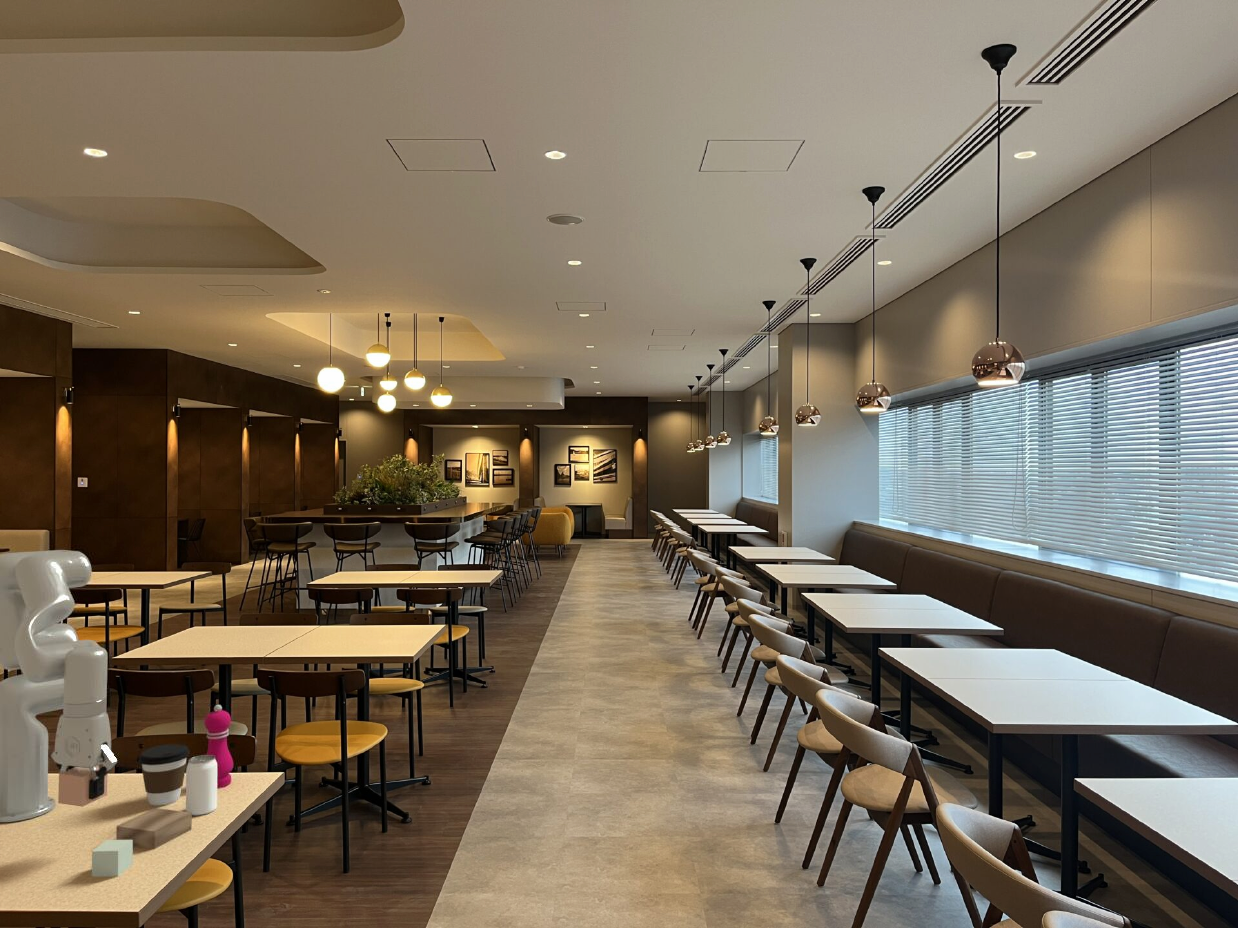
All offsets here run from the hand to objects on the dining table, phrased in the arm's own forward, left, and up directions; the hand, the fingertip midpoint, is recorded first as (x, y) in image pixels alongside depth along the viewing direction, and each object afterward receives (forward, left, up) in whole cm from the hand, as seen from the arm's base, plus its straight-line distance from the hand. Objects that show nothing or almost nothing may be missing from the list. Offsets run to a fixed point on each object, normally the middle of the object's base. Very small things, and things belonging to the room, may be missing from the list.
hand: (83, 793), depth 171 cm
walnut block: (+9, +10, -12) cm, 18 cm away
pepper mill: (+1, +39, -12) cm, 41 cm away
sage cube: (+13, -5, -12) cm, 18 cm away
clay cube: (0, 0, -1) cm, 1 cm away
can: (+9, +24, -12) cm, 28 cm away
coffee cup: (-4, +27, -12) cm, 30 cm away
